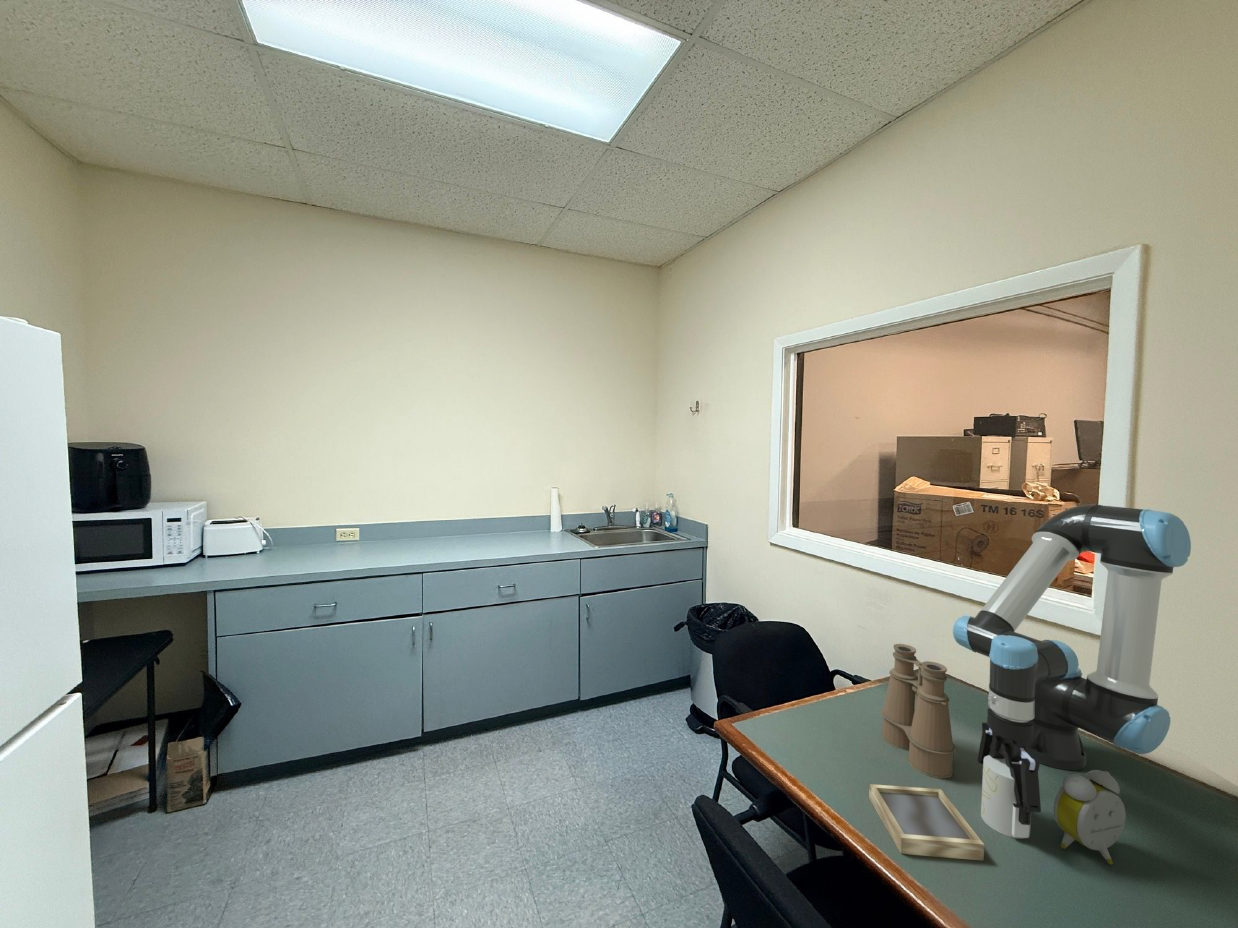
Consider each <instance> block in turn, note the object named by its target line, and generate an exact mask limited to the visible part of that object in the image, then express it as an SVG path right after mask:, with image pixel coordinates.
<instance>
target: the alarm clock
mask: <svg viewBox="0 0 1238 928" xmlns="http://www.w3.org/2000/svg"><path fill="white" fill-rule="evenodd" d="M1119 794H1120V786H1119V783H1118V782H1117V781H1116V779H1115V778H1114V777H1113V776H1112V775H1111V774H1110V772H1109V771H1106V770H1105V771H1103V770H1099V769H1092V770H1089V771H1088V772H1086V774H1085V776H1083V775H1080V774H1074V773H1071V774H1068V775H1066V776H1065V777H1064V778H1063V780H1062V786H1061V787H1060V788H1059V790H1058V792H1057V794H1056V797H1055V798H1054V804H1053V817H1054V821H1055V822H1056V824H1057V826H1058V827H1059V829H1061V830H1062V831H1063V832H1064V834H1063V837H1062V841H1061V843H1060V846H1059V847H1061V848H1062V849H1064V850H1066V849H1067V848H1068V847H1069V846H1070V845H1071V844H1072V843H1073V842H1074V841H1076V842H1078V843H1080V844H1081V845H1082V846H1084V847H1086V848H1088V849H1089V850H1091V851H1092V850H1093V851H1099V853H1100V854H1101V855H1102V857H1103V858H1104V860H1105V861H1106V862H1107V864H1108V865H1113V864H1114V862H1113V859H1112V857H1111V855H1110V852H1109V850H1108V848H1110V847H1112V846H1113V845H1115V843H1116V842H1117V841H1118V840H1119V839H1120V836H1121V835H1122V832H1123V831H1124V827H1125V823H1126V817H1127V816H1126V814H1127V813H1126V812H1127V811H1126V808H1125V805H1124V802H1123V801H1122V799H1121V798H1120V796H1118V795H1119Z"/></svg>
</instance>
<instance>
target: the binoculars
mask: <svg viewBox="0 0 1238 928" xmlns="http://www.w3.org/2000/svg"><path fill="white" fill-rule="evenodd" d="M893 649H894V651H893V652H892V656H893V658H894V667H893V668H891V669H890V671H889V672H888V673H889V675H890V676H889V680H888V684H887V690H886V694H885V695H886V696H885V701H884V705H883V708H882V709H881V710H880V714H881V716H882V724H881V725H882V729H881V738H882V739H883V740H884V741H885V742H886V743H887V744H889V745H891V746H893V747H896V748H898V749H901V750H906V751H908V758H907V759H908V764H910V766H911V767H912V768H913V769H914V770H916V771H917V772H920V773H921V774H923V775H926V776H927V777H930V778H931V777H932V778H935V779H949V778H950V777H952V775H954V774H953V773H954V772H953V771H954V770H953V762H954V759H953V758H954V752H956V745H955V743H954V742H953V735H952V725H951V717H950V709H949V703H950V698H949V696H948V695H947V693H945V682H946V681H947V680H948V677H947V675H946V672H948V667H946V666H945V665H944V664H941V663H939V662H935V661H929V660H927V661H922V662H921V661H919V659H917V655H916V656H915V654H916V653H917V648H916V647H914V646H912V645H909V644H904V643H894V644H893ZM915 666H916V667H917V668H918V672H917V673H918V674H917V673H915V672H914V670H915V669H914V667H915Z"/></svg>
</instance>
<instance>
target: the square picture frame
mask: <svg viewBox="0 0 1238 928" xmlns="http://www.w3.org/2000/svg"><path fill="white" fill-rule="evenodd" d="M868 789H869V790H868V791H869V792H868V798H869V800H870V802H871V805H872V806H873V807H874V809H875V811H876V813H877V814H878V816H879V818H880V820H881V821H882V824H883V825H884V826H885V828H886V830H887V832H888V834H889V836H890V838H891V840H893V843H894V845H895V846H896V848H897V851H898V852H899V853H900V854H901V855H910V856H911V855H913V856H921V857H922V856H924V857H926V856H927V857H936V858H946V859H947V858H949V859H961V860H970V861H971V860H973V861H982V862H983V861H984V859H985V858H984V856H985V843H984V842H983V841H982V839H981V838H980V837H979V836H978V834H977V833H976V832H975V831H974V829H973V828H972V827H971V826H970V825H969V823H968V822H967V820H966V819H965V818H964V817H963V815H962V814H961V813H960V812H959V810H958V809H957V808H956V806H955V805H954V804H953V803H952V802H951V800H950V799H949V797H947V795H946V793H944V791H943V790H942V789H941V788H927V787H914V786H912V787H911V786H902V785H901V786H899V785H884V784H875V783H874V784H872V783H870V784H869V788H868Z"/></svg>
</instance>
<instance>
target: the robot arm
mask: <svg viewBox="0 0 1238 928" xmlns="http://www.w3.org/2000/svg"><path fill="white" fill-rule="evenodd" d="M1031 541H1032V544H1031V545H1030V547H1028V549H1027V551H1026V552H1024V554H1023V555H1022V557H1021V558H1020V559H1019V561H1018V562H1017V563H1016V565H1015V566H1014V567H1013V568H1012V570H1011V571H1010V572H1009V574H1008V575H1007V576H1006V577H1005V579H1004V580H1003V581H1002V582H1001V584H1000V585H999V586H998V587H997V589H996V590H995V591H994V593H993V594H992V595H991V596H990V597H989V599H988V600H987V602H986V603H985V605H983V607H981V609H980V611H978V613H977V614H976V615H975V616H968V615H962V616H961V617H958V618H957V619H956V620H955V622H954V625H953V627H952V635H953V638H954V641H955V642H956V643H957V644H958V645H960V646H961V647H964V648H965V649H968V650H969V651H971V652H973V653H975V654H976V653H977V654H979V655H982V656H985V657H987V658H989V683H988V696H987V700H988V702H987V705H988V708H987V717H986V722H981V731H982V733H981V739H980V743H979V749H978V754H977V762H978V764H979V765H980V764H981V766H983V760H984V757H985V756H988V755H990V756H991V757H992V758H998V759H1005V761H1006V765H1007V767H1009V769H1010V773H1011V777H1012V778H1013V779H1014V793H1015V798H1016V803H1013V814H1012V835H1013V836H1014V837H1022V838H1021V839H1029V838H1030V835H1029V825H1030V822H1032V821H1030V820H1031V819H1032V813H1041V812H1042V810H1041V809H1042V807H1041V796H1040V795H1041V794H1040V781H1039V780H1040V778H1039V770H1040V766H1041V765H1040V764H1042V765H1044V766H1045V765H1046V766H1047V767H1052V768H1055V769H1060V770H1066V771H1079V770H1082V769H1084V768H1085V767H1086V766H1087V753H1086V750H1085V747H1084V744H1083V741H1082V738H1081V735H1080V732H1079V729H1080V730H1083V731H1085V732H1087V733H1089V734H1091V735H1093V736H1095V737H1097V738H1100V739H1102V740H1105V741H1106V742H1108V743H1111V744H1113V745H1114V746H1115V747H1118V748H1121V749H1125V750H1127V751H1129V752H1132V753H1133V754H1134V753H1135V754H1138V755H1146V754H1151V753H1152V752H1154V751H1155V750H1157V748H1159V747H1160V745H1161V744H1163V742H1164V741H1165V739H1166V737H1167V735H1168V732H1169V730H1170V727H1171V716H1170V713H1169V711H1168V710H1167V709H1166V708H1164V707H1163V706H1161V705H1158V703H1159V702H1158V700H1159V694H1158V693H1157V691H1156V690H1154V689H1153V688H1152V687H1151V685H1150V683H1151V675H1152V673H1151V672H1152V665H1153V657H1154V649H1155V648H1154V646H1155V638H1156V631H1157V630H1156V629H1157V621H1158V616H1159V615H1158V612H1159V605H1160V599H1161V598H1160V596H1161V590H1162V589H1161V588H1162V587H1161V586H1162V581H1163V580H1164V579H1165V578H1168V577H1170V576H1172V575H1173V572H1174V568H1180V567H1183V566H1185V565H1186V564H1187V562H1188V560H1189V559H1188V558H1189V557H1190V556H1191V549H1192V543H1191V541H1192V540H1191V536H1190V533H1189V530H1188V526H1186V524H1185V523H1184V521H1183V520H1182V519H1181V518H1180V517H1179V516H1177V515H1175V514H1174V513H1171V512H1170V513H1169V512H1165V511H1159V510H1153V509H1142V508H1131V507H1121V506H1112V505H1102V504H1095V503H1092V504H1091V503H1089V504H1080V505H1076V506H1072V507H1070V508H1067V509H1065V510H1063V511H1060V512H1059V513H1057V514H1055V515H1053V516H1052V517H1050V518H1049V519H1048V520H1046V521H1044V522H1043V524H1041V525H1040V526H1039V527H1038V528H1037V529H1036V531H1035V532H1034V533H1033V534H1032V536H1031ZM1087 552H1091V553H1095V554H1100V559H1099V563H1100V564H1101V565H1102V566H1103V567H1104V568H1105V569H1106V570H1107V577H1106V584H1105V585H1106V587H1105V595H1104V602H1103V611H1102V619H1101V620H1102V621H1101V629H1100V637H1099V638H1100V639H1099V648H1098V656H1097V664H1096V665H1097V666H1096V670H1095V671H1092V672H1091V673H1088V674H1087V675H1086V678H1085V677H1082V676H1083V672H1082V670H1081V668H1079V659H1078V656H1077V654H1076V652H1075V651H1074V650H1073V649H1072V647H1070V646H1069V645H1068V644H1066V643H1065V642H1063V641H1060V640H1057V639H1044V640H1041V639H1040V640H1039V639H1037V638H1033V637H1030V636H1028V635H1025V634H1022V633H1019V632H1016V630H1017V628H1019V626H1020V625H1021V624H1022V622H1024V620H1025V619H1026V617H1027V616H1028V614H1030V612H1031V611H1032V609H1033V608H1034V606H1035V605H1036V604H1037V603H1038V601H1039V600H1040V599H1041V598H1042V596H1043V595H1044V593H1045V592H1046V591H1047V589H1048V588H1049V586H1050V585H1051V584H1052V583H1053V581H1054V580H1055V579H1056V578H1057V576H1058V575H1059V573H1061V571H1062V570H1063V569H1064V567H1065V565H1066V564H1067V563H1068V562H1072V561H1075V560H1077V558H1078V557H1079V556H1080V555H1081V554H1083V553H1087ZM1012 762H1019V763H1020V764H1015V763H1012ZM1022 800H1023V801H1022ZM1030 818H1031V819H1030Z"/></svg>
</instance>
